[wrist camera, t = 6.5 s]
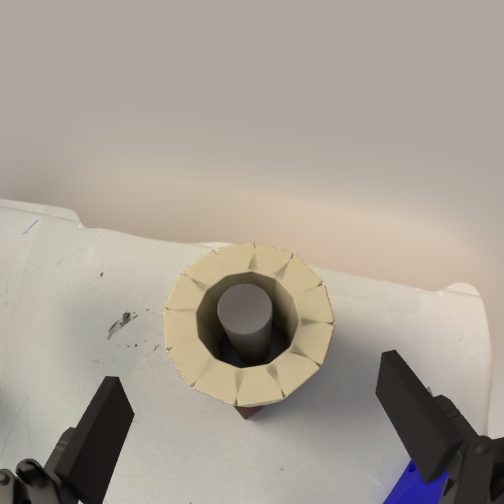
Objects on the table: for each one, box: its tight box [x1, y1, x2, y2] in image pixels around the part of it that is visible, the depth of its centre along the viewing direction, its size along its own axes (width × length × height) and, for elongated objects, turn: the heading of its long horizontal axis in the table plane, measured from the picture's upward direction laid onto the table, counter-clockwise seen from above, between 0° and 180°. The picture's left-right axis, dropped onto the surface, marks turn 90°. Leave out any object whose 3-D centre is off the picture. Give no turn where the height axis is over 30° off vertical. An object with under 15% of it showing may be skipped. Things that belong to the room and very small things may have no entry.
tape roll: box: [163, 243, 335, 407], centre depth 19 cm, size 9×9×8 cm
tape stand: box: [218, 284, 288, 420], centre depth 19 cm, size 8×8×11 cm
